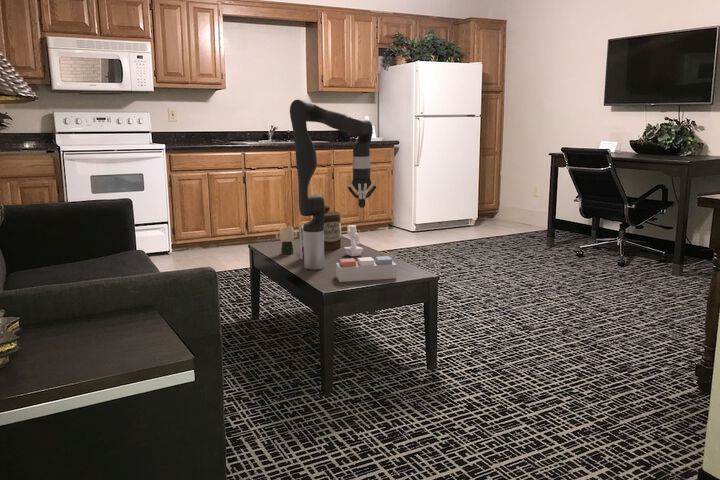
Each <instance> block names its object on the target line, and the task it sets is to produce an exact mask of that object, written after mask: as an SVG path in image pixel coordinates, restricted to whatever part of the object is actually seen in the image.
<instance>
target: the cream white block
mask: <svg viewBox="0 0 720 480" xmlns="http://www.w3.org/2000/svg"><path fill="white" fill-rule="evenodd" d="M374 261H375V260H374V258H373V257H372V256H368V257H366V256H365V257H357V262H358V265H359V266H371V265H374Z"/></svg>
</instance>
